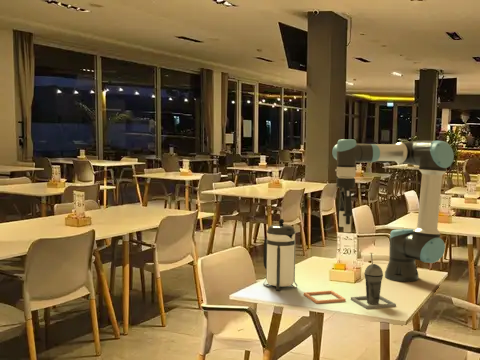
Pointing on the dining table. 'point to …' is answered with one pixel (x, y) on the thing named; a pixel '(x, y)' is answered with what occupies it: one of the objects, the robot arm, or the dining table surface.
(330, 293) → the frame
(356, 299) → the frame
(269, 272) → the coffee press
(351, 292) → the dining table surface
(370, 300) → the beverage cup
